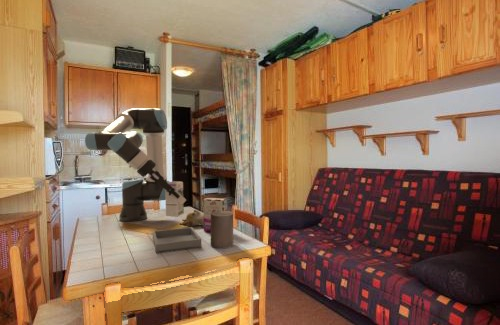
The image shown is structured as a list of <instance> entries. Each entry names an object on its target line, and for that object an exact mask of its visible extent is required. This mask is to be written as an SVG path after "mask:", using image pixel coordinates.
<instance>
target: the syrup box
mask: <svg viewBox="0 0 500 325" xmlns="http://www.w3.org/2000/svg"><path fill="white" fill-rule="evenodd" d="M168 184H169V185H170V186H171V187H172V188H174V189H175V190H176V191H177V192H178V193H180V194H181V195H182V196H183V197H184V182H183V181H178V180H176V181H175V180H173V181H169V182H168ZM170 190H171V189H170ZM170 190H169V191H170ZM164 201H165V216H166V217H171V218H172V217H175V218H176V217H180V216H182V215H184V214H185V213H184V211H185V209H184V208H185V206H184V203H183V204H181V203H180V202H178V201H177V200H176V199H175V198H174V197H173V196H172V195H170V196H169V192H168V191H167V190H165V200H164Z"/></svg>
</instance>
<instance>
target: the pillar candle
mask: <svg viewBox="0 0 500 325" xmlns="http://www.w3.org/2000/svg"><path fill="white" fill-rule="evenodd" d="M233 245H234V212H232V211H229V210H227V211H222V210H221V211H215V212H212V213H211V232H210V246H211V247H212V248H216V249H228V248H231V247H232V246H233Z"/></svg>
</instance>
